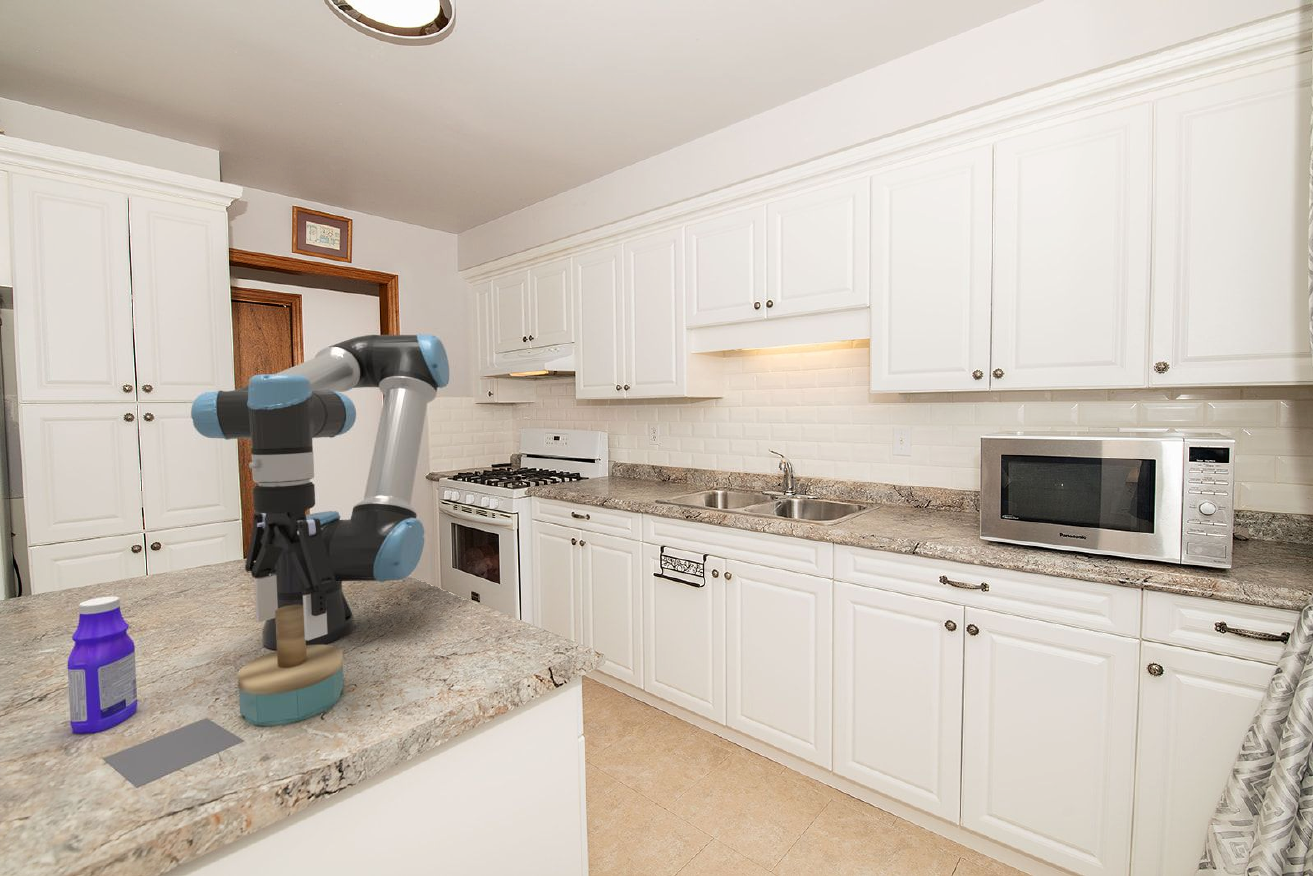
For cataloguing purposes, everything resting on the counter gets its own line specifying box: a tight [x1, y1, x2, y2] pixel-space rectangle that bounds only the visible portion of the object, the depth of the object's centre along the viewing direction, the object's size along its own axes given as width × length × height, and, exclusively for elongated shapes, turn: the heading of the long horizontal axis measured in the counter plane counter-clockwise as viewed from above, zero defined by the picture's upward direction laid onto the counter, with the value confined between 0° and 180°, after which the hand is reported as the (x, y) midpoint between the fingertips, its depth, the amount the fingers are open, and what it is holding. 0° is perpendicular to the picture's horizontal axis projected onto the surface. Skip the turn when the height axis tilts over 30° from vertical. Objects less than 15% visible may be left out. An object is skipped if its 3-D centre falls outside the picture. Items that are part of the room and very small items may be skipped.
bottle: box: [67, 596, 138, 734], centre depth 82 cm, size 7×6×17 cm
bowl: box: [238, 665, 345, 727], centre depth 86 cm, size 12×12×5 cm
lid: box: [237, 605, 344, 694], centre depth 86 cm, size 13×13×10 cm
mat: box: [102, 717, 245, 788], centre depth 75 cm, size 11×11×1 cm
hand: (290, 628), depth 86 cm, fingers open, 13 cm apart
